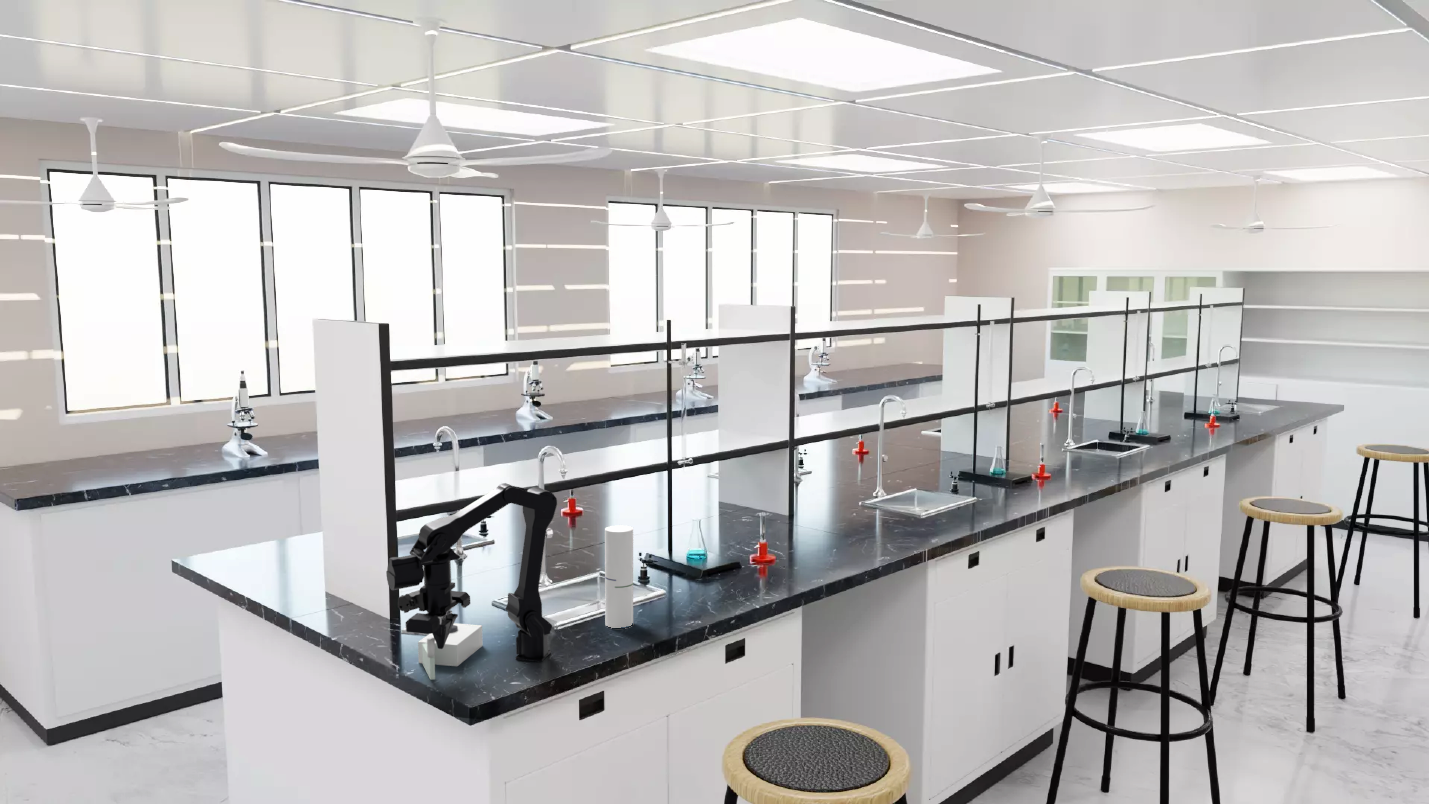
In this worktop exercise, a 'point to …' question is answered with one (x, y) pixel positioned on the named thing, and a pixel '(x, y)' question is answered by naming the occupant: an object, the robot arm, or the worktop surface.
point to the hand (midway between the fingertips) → (440, 648)
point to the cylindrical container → (618, 576)
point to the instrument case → (456, 644)
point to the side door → (429, 657)
